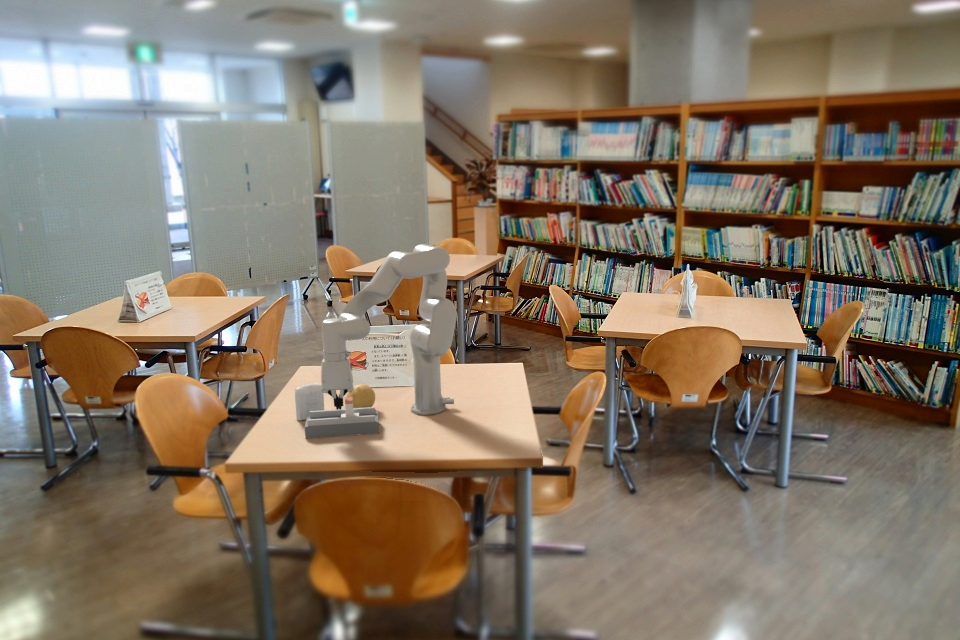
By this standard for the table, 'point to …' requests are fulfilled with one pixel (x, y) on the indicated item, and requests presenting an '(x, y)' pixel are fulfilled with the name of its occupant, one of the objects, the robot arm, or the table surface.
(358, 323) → the robot arm
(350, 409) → the knob
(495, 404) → the table surface
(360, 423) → the gray slider track
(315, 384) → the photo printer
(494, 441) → the table surface
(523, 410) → the table surface
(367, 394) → the stress ball
